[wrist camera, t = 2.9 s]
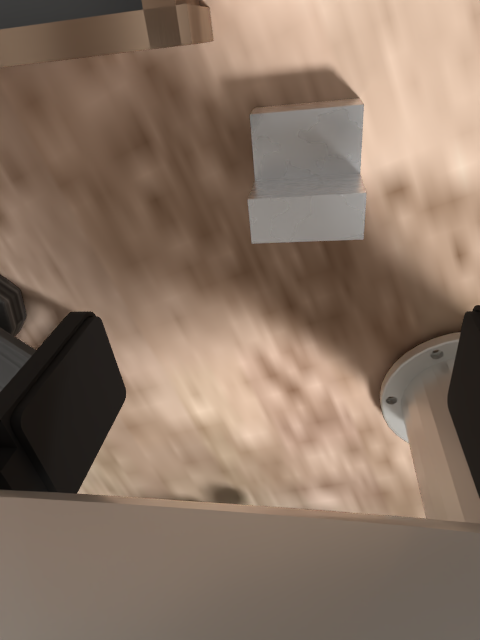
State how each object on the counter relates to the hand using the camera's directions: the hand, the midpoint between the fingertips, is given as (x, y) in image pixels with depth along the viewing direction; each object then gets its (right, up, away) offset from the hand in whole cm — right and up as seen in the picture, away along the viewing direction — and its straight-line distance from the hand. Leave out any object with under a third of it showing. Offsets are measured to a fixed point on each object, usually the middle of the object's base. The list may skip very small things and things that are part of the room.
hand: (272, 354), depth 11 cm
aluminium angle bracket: (+3, +11, +15) cm, 19 cm away
